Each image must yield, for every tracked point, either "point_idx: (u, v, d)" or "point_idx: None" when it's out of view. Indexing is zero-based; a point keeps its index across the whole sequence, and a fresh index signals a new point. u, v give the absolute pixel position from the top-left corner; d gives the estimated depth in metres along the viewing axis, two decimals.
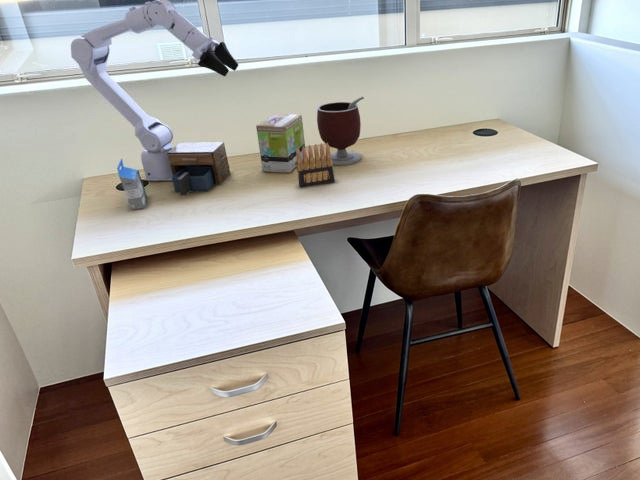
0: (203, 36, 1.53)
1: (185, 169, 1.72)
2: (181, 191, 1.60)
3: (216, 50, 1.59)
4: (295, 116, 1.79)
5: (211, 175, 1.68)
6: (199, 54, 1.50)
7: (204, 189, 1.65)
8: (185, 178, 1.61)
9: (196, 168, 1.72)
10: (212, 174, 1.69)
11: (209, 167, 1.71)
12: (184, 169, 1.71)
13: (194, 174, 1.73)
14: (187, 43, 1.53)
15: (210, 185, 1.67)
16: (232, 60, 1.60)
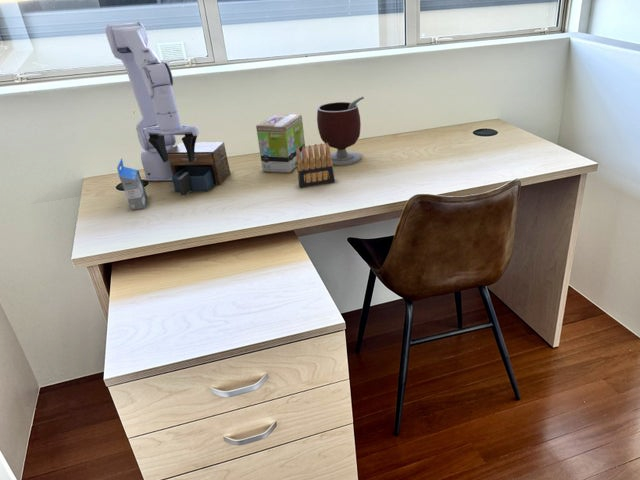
0: (162, 125, 1.50)
1: (185, 169, 1.72)
2: (181, 191, 1.60)
3: None
4: (295, 116, 1.79)
5: (211, 175, 1.68)
6: None
7: (204, 189, 1.65)
8: (185, 178, 1.61)
9: (196, 168, 1.72)
10: (212, 174, 1.69)
11: (209, 167, 1.71)
12: (184, 169, 1.71)
13: (194, 174, 1.73)
14: None
15: (210, 185, 1.67)
16: None
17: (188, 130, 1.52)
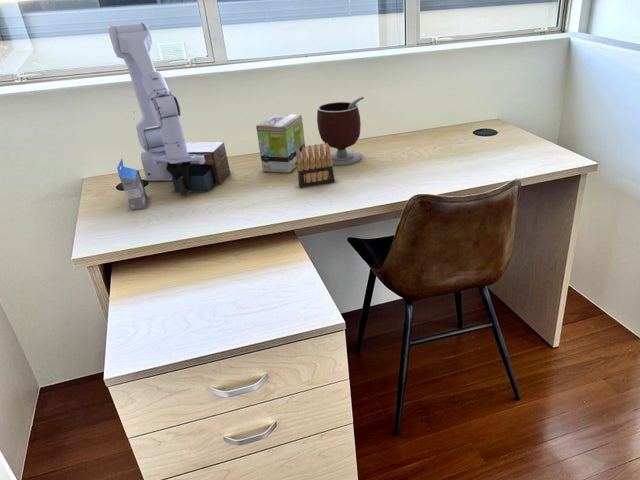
0: (169, 155, 1.54)
1: None
2: (181, 191, 1.60)
3: None
4: (295, 116, 1.79)
5: (211, 175, 1.68)
6: None
7: (204, 189, 1.65)
8: None
9: (196, 168, 1.72)
10: (212, 174, 1.69)
11: (209, 167, 1.71)
12: None
13: (194, 174, 1.73)
14: None
15: (210, 185, 1.67)
16: None
17: (195, 159, 1.56)
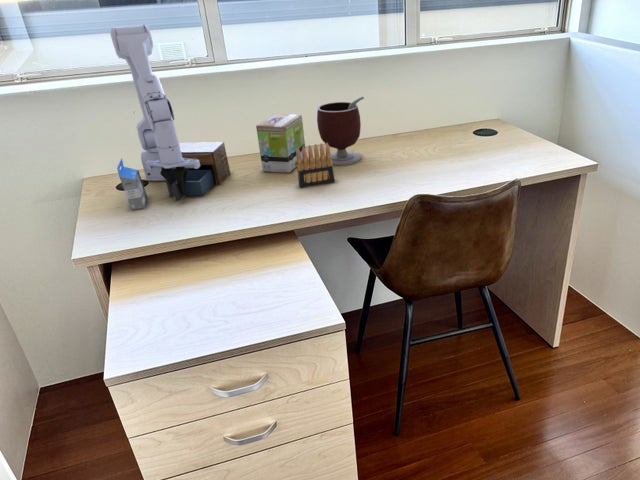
0: (164, 159, 1.51)
1: None
2: (176, 196, 1.56)
3: None
4: (295, 116, 1.79)
5: (207, 179, 1.65)
6: None
7: (199, 194, 1.62)
8: None
9: (191, 172, 1.69)
10: (207, 178, 1.66)
11: (204, 171, 1.68)
12: None
13: (189, 178, 1.70)
14: None
15: (205, 190, 1.64)
16: None
17: (189, 163, 1.53)
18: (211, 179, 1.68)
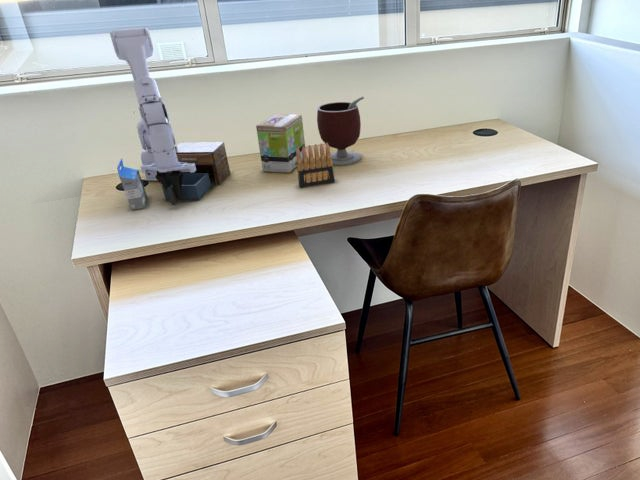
0: (159, 163, 1.48)
1: None
2: (171, 201, 1.54)
3: None
4: (295, 116, 1.79)
5: (203, 183, 1.63)
6: None
7: (195, 198, 1.59)
8: None
9: (188, 176, 1.66)
10: (204, 182, 1.63)
11: (201, 175, 1.66)
12: None
13: (185, 182, 1.67)
14: None
15: (202, 194, 1.62)
16: None
17: (185, 167, 1.50)
18: (207, 183, 1.66)
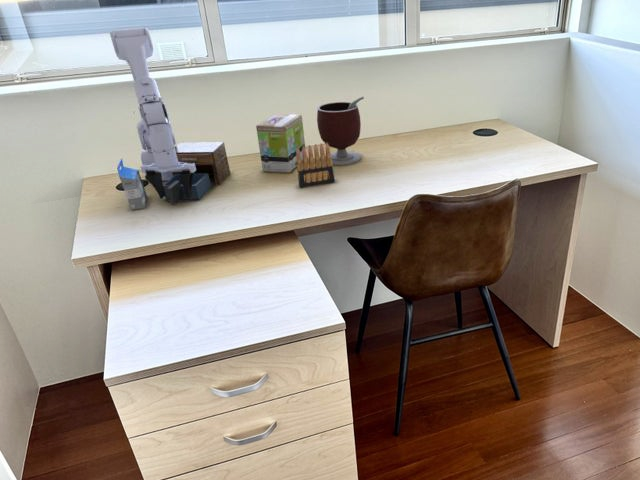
0: (159, 163, 1.48)
1: (176, 177, 1.66)
2: (171, 200, 1.54)
3: None
4: (295, 116, 1.79)
5: (203, 183, 1.63)
6: None
7: (195, 198, 1.59)
8: (175, 187, 1.55)
9: None
10: (204, 182, 1.63)
11: (201, 175, 1.66)
12: (175, 177, 1.65)
13: None
14: None
15: (202, 194, 1.62)
16: None
17: (185, 167, 1.50)
18: (207, 183, 1.66)
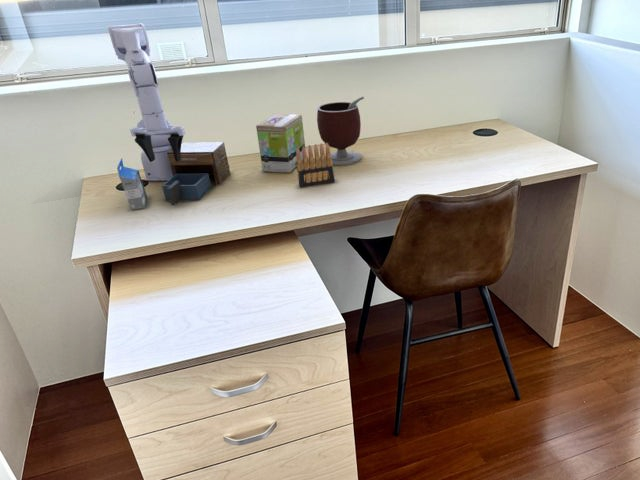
0: (148, 126, 1.51)
1: (176, 177, 1.66)
2: (171, 200, 1.54)
3: None
4: (295, 116, 1.79)
5: (203, 183, 1.63)
6: None
7: (195, 198, 1.59)
8: (175, 187, 1.55)
9: (188, 176, 1.66)
10: (204, 182, 1.63)
11: (201, 175, 1.66)
12: (175, 177, 1.65)
13: (185, 182, 1.67)
14: None
15: (202, 194, 1.62)
16: None
17: (174, 130, 1.53)
18: (207, 183, 1.66)
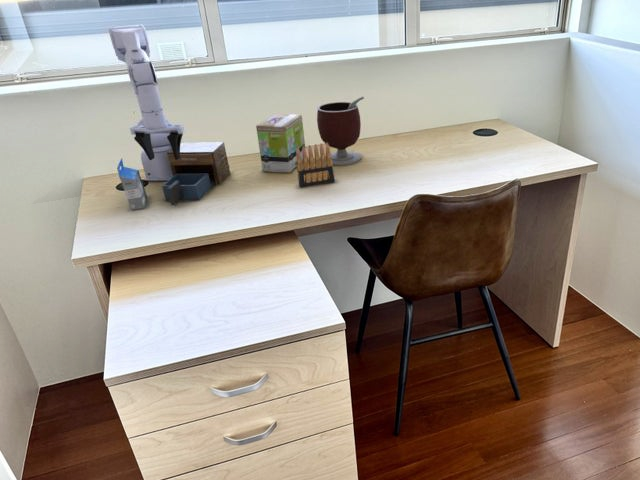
0: (147, 124, 1.52)
1: (176, 177, 1.66)
2: (171, 200, 1.54)
3: None
4: (295, 116, 1.79)
5: (203, 183, 1.63)
6: None
7: (195, 198, 1.59)
8: (175, 187, 1.55)
9: (188, 176, 1.66)
10: (204, 182, 1.63)
11: (201, 175, 1.66)
12: (175, 177, 1.65)
13: (185, 182, 1.67)
14: None
15: (202, 194, 1.62)
16: None
17: (173, 128, 1.54)
18: (207, 183, 1.66)
